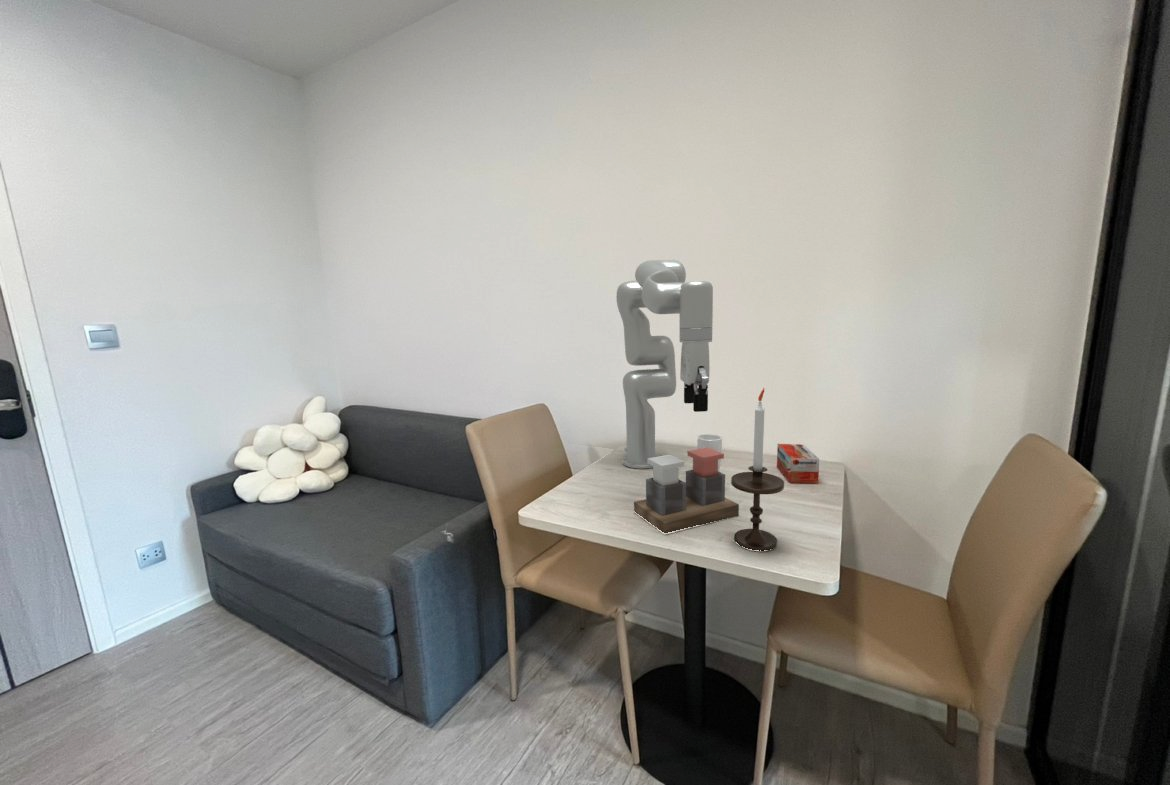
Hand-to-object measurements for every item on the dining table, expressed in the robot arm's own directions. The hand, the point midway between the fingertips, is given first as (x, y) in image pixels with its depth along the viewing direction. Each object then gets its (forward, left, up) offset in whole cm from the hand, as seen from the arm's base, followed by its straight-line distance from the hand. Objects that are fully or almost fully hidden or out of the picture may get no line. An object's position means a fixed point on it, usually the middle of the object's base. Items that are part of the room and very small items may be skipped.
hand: (695, 407), depth 116 cm
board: (-2, -1, -28) cm, 28 cm away
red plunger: (-2, +5, -21) cm, 22 cm away
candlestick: (+17, +4, -28) cm, 33 cm away
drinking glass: (-14, +16, -28) cm, 36 cm away
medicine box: (-9, +45, -29) cm, 54 cm away
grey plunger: (-2, -7, -21) cm, 22 cm away
